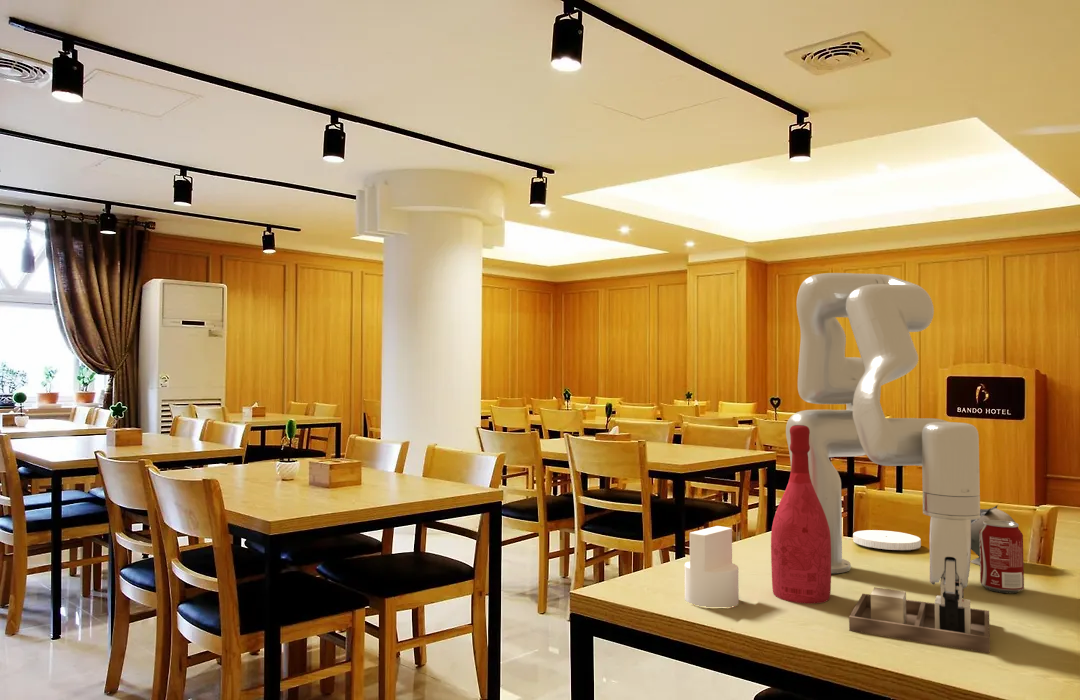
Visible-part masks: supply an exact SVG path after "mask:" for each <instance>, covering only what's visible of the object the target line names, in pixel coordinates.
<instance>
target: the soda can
mask: <svg viewBox="0 0 1080 700" xmlns="http://www.w3.org/2000/svg"><path fill="white" fill-rule="evenodd" d="M983 523H984V525H983V527H982V528H981V529H980V531H979V534H980V565H979V570H980V571H979V575H980V576H979V577H980V578H979V579H980V580H979V581H980V582H979V583H980V585H981V586H982V587H985V588H986V589H987V590H988V591H991V592H996V593H1002V594H1017V593H1019V592H1022V591H1023V590H1024V589H1025V578H1024V577H1025V574H1024V573H1025V572H1024V570H1025V569H1024V563H1025V562H1024V535H1023V533H1022V531H1021V530H1020V529H1019V526H1020V525H1019V523H1017V522H1016V521H1015V522H1010V521H1002V520H985V521H983Z"/></svg>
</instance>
